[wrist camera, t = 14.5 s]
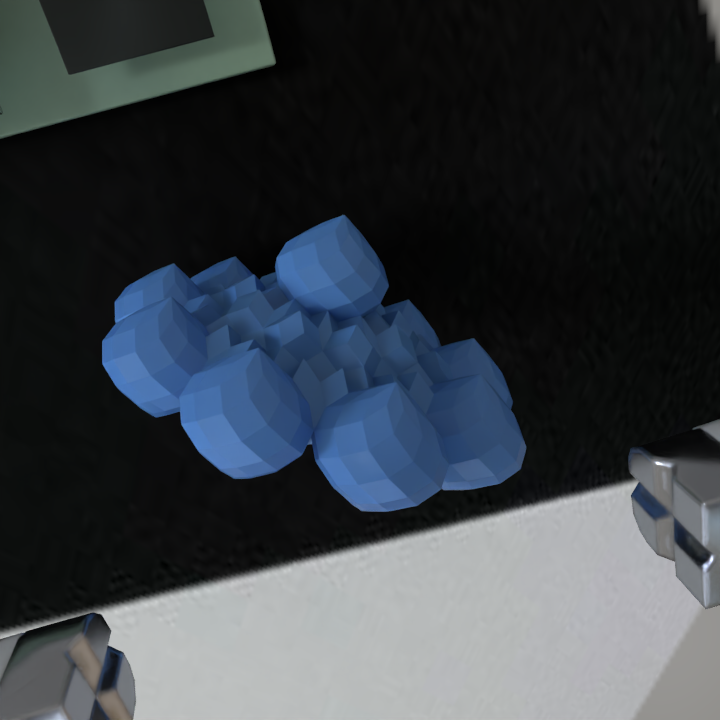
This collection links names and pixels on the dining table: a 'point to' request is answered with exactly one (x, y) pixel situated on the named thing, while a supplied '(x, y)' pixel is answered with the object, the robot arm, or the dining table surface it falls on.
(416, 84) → the dining table surface
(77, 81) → the scale
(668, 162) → the dining table surface
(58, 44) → the scale pan
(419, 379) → the grapes
